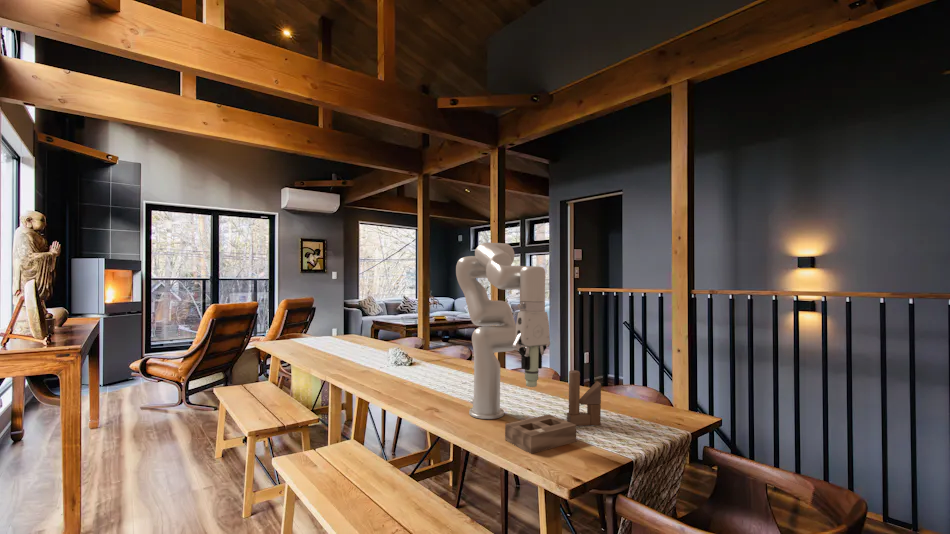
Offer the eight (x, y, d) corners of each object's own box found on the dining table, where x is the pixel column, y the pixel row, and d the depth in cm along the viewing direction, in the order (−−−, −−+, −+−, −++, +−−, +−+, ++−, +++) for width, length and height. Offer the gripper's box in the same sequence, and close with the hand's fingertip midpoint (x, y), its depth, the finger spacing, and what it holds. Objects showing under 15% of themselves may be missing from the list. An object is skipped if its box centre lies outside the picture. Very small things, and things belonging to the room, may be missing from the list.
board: (505, 440, 136) (505, 423, 137) (548, 429, 146) (549, 414, 147) (530, 453, 126) (531, 435, 127) (576, 441, 136) (576, 424, 137)
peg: (521, 385, 135) (522, 338, 135) (532, 383, 137) (532, 337, 138) (530, 388, 132) (531, 340, 132) (541, 386, 134) (541, 339, 134)
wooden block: (600, 425, 151) (601, 372, 152) (570, 426, 150) (570, 372, 150) (596, 422, 155) (597, 369, 155) (566, 423, 154) (567, 370, 154)
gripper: (518, 309, 127) (517, 374, 127) (561, 307, 136) (560, 368, 136) (502, 307, 133) (501, 369, 133) (544, 305, 143) (543, 363, 142)
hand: (531, 367), depth 135 cm, fingers closed on peg, 4 cm apart
